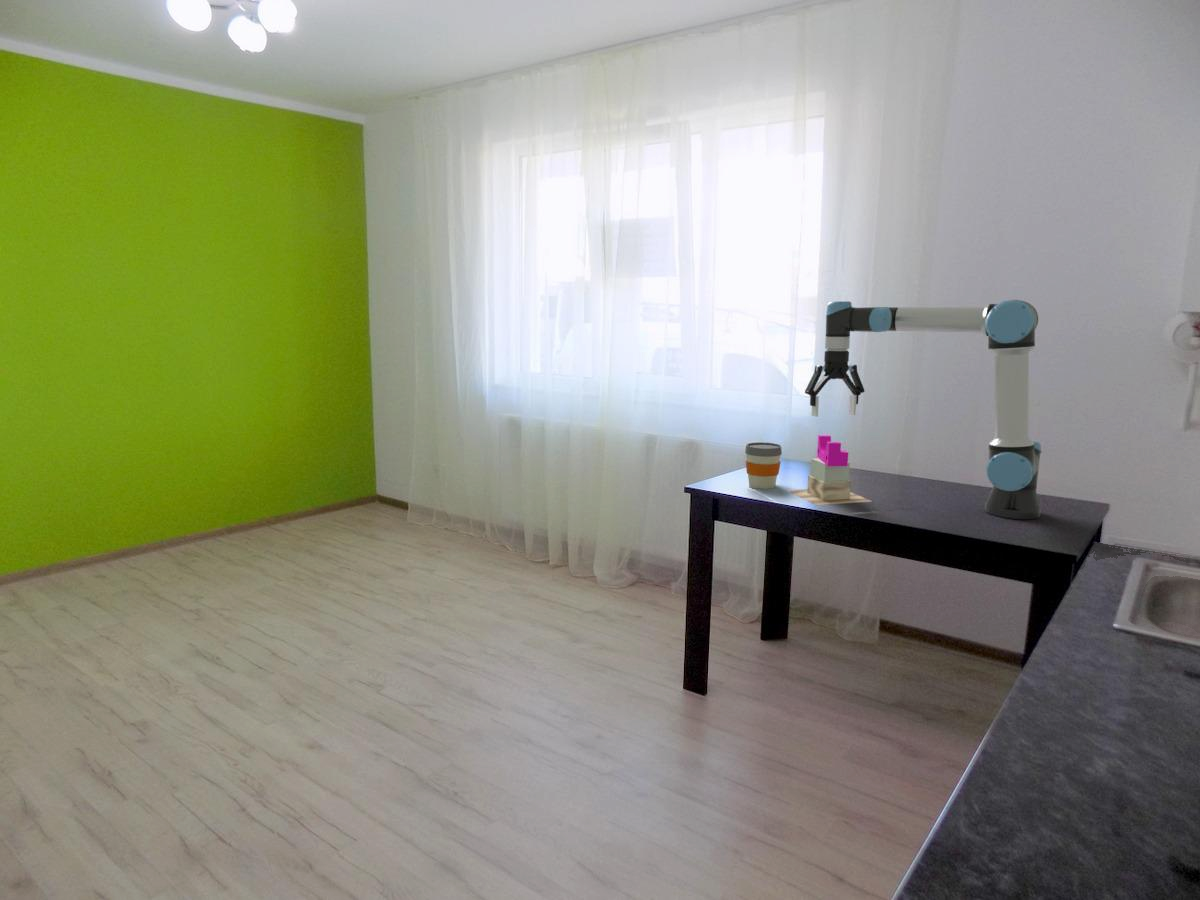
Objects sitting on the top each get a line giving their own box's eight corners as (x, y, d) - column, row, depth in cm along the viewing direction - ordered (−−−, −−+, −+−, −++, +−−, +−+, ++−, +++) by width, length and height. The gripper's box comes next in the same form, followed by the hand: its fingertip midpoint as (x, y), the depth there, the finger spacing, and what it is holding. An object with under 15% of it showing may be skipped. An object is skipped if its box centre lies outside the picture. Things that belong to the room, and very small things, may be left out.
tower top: (848, 480, 247) (850, 462, 246) (824, 482, 245) (825, 464, 244) (834, 474, 256) (835, 457, 255) (810, 476, 254) (811, 458, 253)
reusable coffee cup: (762, 481, 275) (763, 441, 272) (787, 488, 265) (789, 446, 262) (736, 485, 268) (737, 444, 266) (761, 493, 258) (763, 450, 255)
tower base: (849, 498, 248) (851, 480, 247) (822, 500, 246) (823, 482, 245) (833, 491, 258) (834, 474, 257) (807, 493, 255) (808, 475, 254)
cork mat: (872, 503, 245) (872, 501, 244) (816, 506, 240) (816, 505, 240) (839, 488, 264) (839, 487, 264) (786, 492, 259) (786, 490, 259)
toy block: (847, 466, 241) (848, 443, 239) (827, 466, 241) (829, 443, 240) (835, 457, 255) (836, 435, 254) (817, 456, 256) (818, 435, 254)
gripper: (864, 348, 249) (861, 412, 253) (796, 350, 243) (793, 415, 247) (878, 349, 242) (874, 415, 246) (807, 351, 236) (804, 418, 240)
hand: (833, 415), depth 247 cm, fingers open, 13 cm apart
